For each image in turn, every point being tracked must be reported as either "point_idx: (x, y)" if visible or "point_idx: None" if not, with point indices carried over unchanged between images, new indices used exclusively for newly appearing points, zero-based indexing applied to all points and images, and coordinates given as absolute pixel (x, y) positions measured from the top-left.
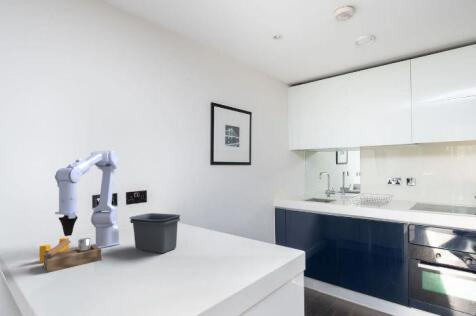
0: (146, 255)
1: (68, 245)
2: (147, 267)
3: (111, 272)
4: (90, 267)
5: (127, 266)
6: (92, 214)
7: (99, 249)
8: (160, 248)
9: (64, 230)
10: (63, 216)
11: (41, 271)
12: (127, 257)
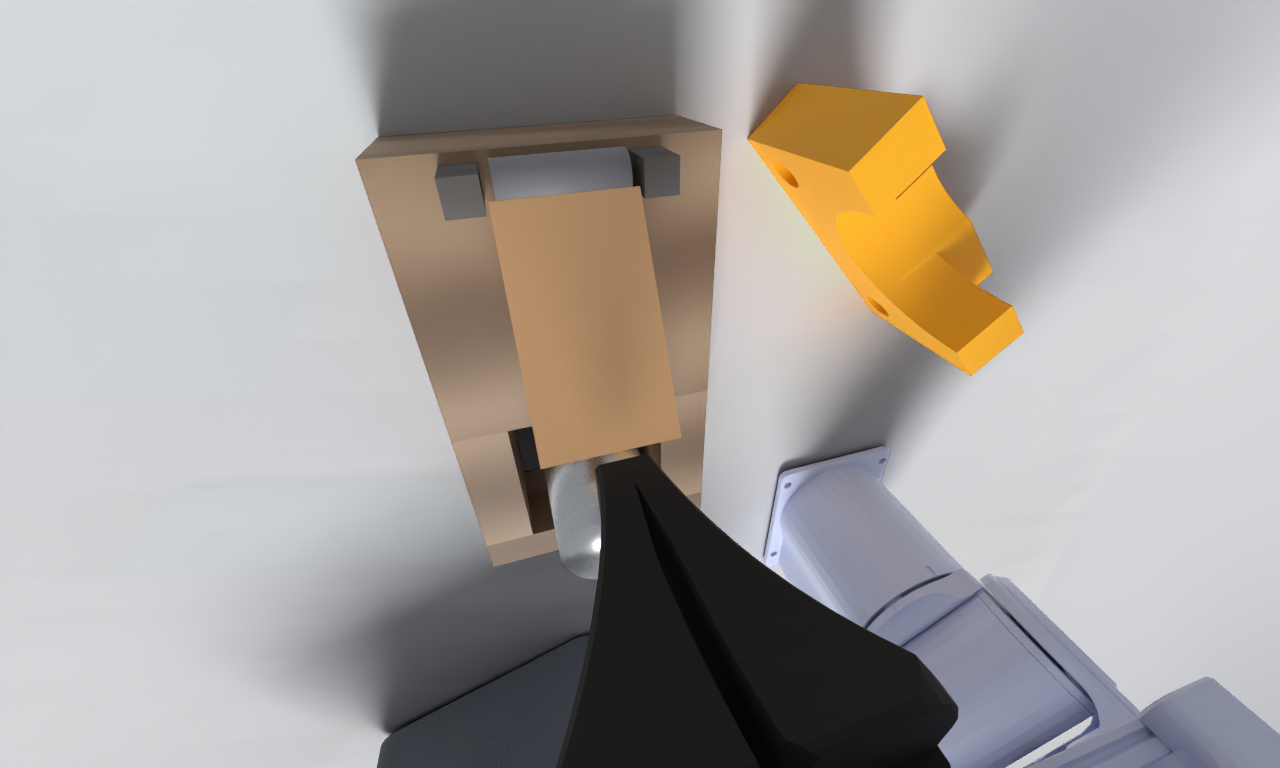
0: (412, 681)
1: (915, 339)
2: (123, 713)
3: (96, 572)
4: (332, 452)
5: (213, 632)
6: (1087, 676)
7: (505, 557)
8: (384, 764)
9: (601, 538)
10: (940, 761)
11: (470, 81)
12: (440, 614)
